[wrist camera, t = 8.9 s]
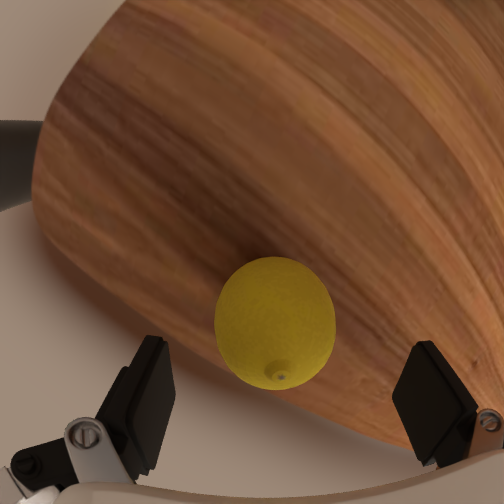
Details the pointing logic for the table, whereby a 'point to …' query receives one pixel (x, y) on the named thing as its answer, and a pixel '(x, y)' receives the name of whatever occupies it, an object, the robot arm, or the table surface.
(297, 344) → the lemon
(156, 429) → the robot arm
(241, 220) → the table surface
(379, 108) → the table surface
